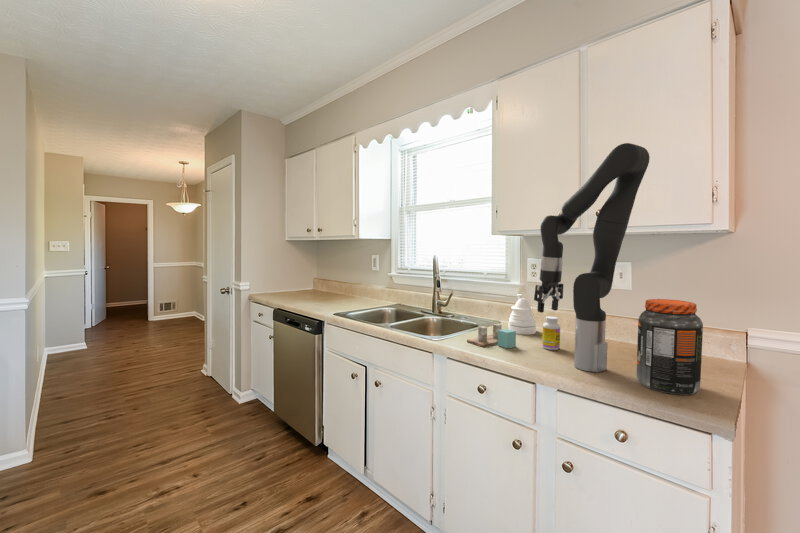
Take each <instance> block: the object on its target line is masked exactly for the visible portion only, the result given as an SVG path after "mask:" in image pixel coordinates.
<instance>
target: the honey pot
mask: <svg viewBox="0 0 800 533" xmlns="http://www.w3.org/2000/svg"><path fill="white" fill-rule="evenodd" d="M516 298H517V299H518V300H517V301H516V302H515V304H514V305H512V306H511V307H510V309H511V313H510V316H509V319H508V326H507V327H508V328H507V329H509V330H513V331H516V335H517V334H518V335H533V334H536V333H537V321H536V319H535V315H534V313H533V307H532V306H531V305H530V303H529V302H528V300H527V298H525V297H523V294H519V293H517V294H516Z"/></svg>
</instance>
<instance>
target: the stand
mask: <svg viewBox="0 0 800 533" xmlns="http://www.w3.org/2000/svg"><path fill="white" fill-rule="evenodd" d="M502 327H503V326H502V324H501V323H500V324H499V323H494V324H492V334H490V335H488V327H487V326H483V325H481V326H478V327H477V328H478V337H473V338H468V339H466V343H469V344H472V345H474V346H479V347H481V348H487V347H490V346H496V344H497V345H498V330H502Z"/></svg>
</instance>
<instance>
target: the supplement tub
mask: <svg viewBox="0 0 800 533" xmlns="http://www.w3.org/2000/svg"><path fill="white" fill-rule="evenodd" d="M644 308H645V310H643V311H642V312H641V313H640V315H639V317H638V319H637V320H638V322H637V347H636V348H637V352H636V379H637V381H638V382H639V383H640V384H641V385H643V386H644V387H646V388H648V389H651V390H653V391H658V392H660V393H664V394H665V393H666V394H673V395H679V396H680V395H681V396H683V395H684V396H686V395H687V396H688V395H693V394H696V393H697V392H699V391H700V388H701V376H702V357H703V356H702V355H703V336H704V335H703V334H704V333H703V332H704V325H703V324H704V323H703V321H702V319H701V317H699V316H698V315H697V314H696V313H697V311H698V310H697V304H696V303H695V302H693V301H692V302H691V301H686V300H679V299H669V298H665V299H664V298H653V299H646V300H645V305H644Z"/></svg>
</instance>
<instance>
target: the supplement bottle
mask: <svg viewBox="0 0 800 533" xmlns="http://www.w3.org/2000/svg"><path fill="white" fill-rule="evenodd" d="M558 322H559V317H557V316H549V315H548V316H545V322H543V324H542V344H541V345H542V348H543V349H544V350H549V351H557V350H558V351H559V349H560V347H561V345H560V344H561V342H560V341H561V325H560V323H558Z"/></svg>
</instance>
